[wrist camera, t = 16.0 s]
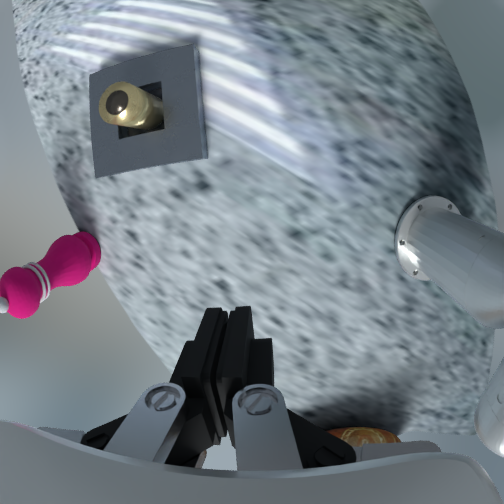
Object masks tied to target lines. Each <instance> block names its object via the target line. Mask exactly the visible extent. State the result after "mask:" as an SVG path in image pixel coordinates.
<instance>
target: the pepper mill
mask: <svg viewBox="0 0 504 504" xmlns="http://www.w3.org/2000/svg"><path fill="white" fill-rule="evenodd" d="M100 259H101V251H100V247H99V244H98V242H97V241H96V239H95V238H94V237H93V236H92V235H91V234H89V233H87V232H78V233H76V234H74V235H64V236H62V237H60V238H59V239H57V240H56V241H55V242H54V243H53V244H52V245H51V247H50V248H49V250H48V252H47V254H46V255H45V257H44V258H43V259H42V260H40V261H39V262H37V263H34V262H30V263H28V264H26V265H24V266H23V267H22V268H21V267H13V268H11V269H9V270H7V271H6V272H5V273H4V274H3V275H2V278H1V279H0V313H5V312H8V313H10V314H11V315H12V316H14V317H16V318H21V319H22V318H27V317H30V316H31V315H33V314H34V313H35V312H36V310H37V309H38V307H39V304H40V303H41V302H43V301H44V300H45V299H46V298H48V296H49V294H50V291H51V290H52V289H54V288H55V287H59V286H72V285H76V284H78V283H80V282H82V281H83V280H85V279H86V277H87V276H88V275H89V272H90V271H91V270H93V269H94V268H96V267H97V265H98V264H99V262H100Z"/></svg>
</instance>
